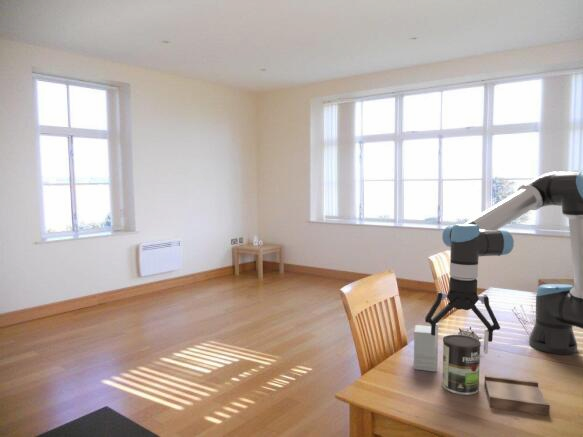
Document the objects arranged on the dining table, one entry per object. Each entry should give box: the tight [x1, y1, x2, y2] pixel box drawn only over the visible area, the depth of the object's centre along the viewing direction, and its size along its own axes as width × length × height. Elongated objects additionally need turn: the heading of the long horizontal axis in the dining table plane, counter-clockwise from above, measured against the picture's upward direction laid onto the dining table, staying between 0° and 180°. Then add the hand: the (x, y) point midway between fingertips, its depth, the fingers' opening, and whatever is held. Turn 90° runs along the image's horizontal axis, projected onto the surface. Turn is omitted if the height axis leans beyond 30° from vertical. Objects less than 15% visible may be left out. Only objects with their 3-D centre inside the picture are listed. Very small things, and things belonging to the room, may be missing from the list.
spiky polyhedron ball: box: [457, 326, 482, 341], centre depth 156 cm, size 9×8×10 cm
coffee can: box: [441, 334, 481, 396], centre depth 128 cm, size 10×10×14 cm
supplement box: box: [413, 324, 439, 372], centre depth 142 cm, size 7×7×13 cm
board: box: [484, 375, 551, 416], centre depth 121 cm, size 14×14×3 cm
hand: (460, 349), depth 127 cm, fingers open, 13 cm apart
